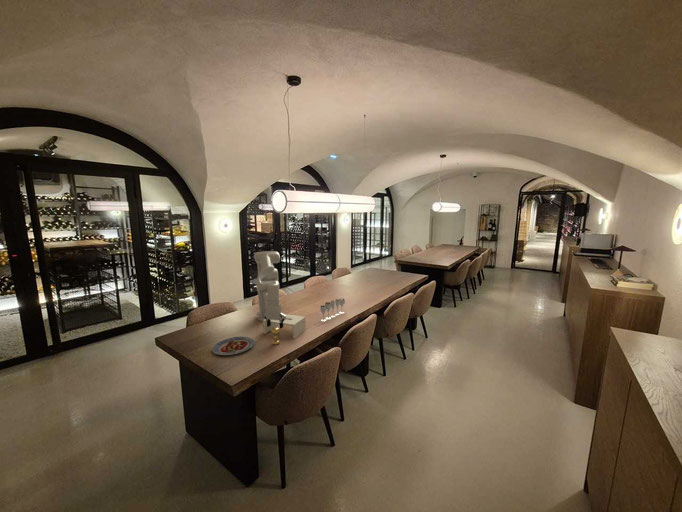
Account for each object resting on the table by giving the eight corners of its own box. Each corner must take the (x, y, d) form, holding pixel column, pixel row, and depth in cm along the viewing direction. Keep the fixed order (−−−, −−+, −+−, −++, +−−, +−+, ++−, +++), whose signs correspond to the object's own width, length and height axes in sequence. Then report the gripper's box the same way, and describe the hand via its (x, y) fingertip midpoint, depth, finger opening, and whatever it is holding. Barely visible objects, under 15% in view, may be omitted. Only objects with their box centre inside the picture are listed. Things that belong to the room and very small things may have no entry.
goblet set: (324, 322, 226) (323, 306, 224) (318, 320, 230) (318, 304, 228) (346, 312, 247) (346, 297, 245) (341, 311, 251) (341, 296, 249)
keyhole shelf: (263, 333, 207) (262, 320, 206) (276, 325, 222) (275, 313, 220) (294, 338, 198) (294, 324, 196) (305, 329, 212) (305, 316, 211)
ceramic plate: (225, 338, 200) (224, 334, 199) (260, 339, 197) (260, 335, 197) (204, 357, 175) (203, 352, 174) (244, 358, 172) (243, 354, 171)
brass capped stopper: (270, 344, 189) (269, 329, 187) (275, 341, 194) (274, 326, 192) (277, 345, 187) (276, 330, 186) (281, 342, 192) (280, 327, 190)
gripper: (259, 302, 186) (260, 327, 188) (281, 304, 179) (283, 330, 182) (266, 299, 193) (267, 323, 195) (288, 301, 186) (289, 326, 189)
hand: (275, 327), depth 188 cm, fingers open, 9 cm apart
